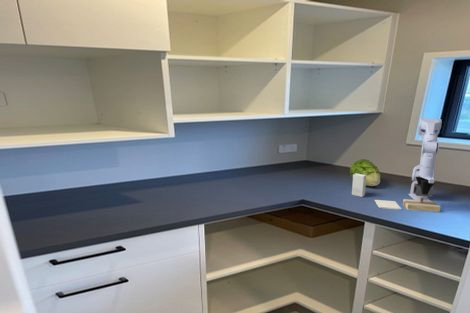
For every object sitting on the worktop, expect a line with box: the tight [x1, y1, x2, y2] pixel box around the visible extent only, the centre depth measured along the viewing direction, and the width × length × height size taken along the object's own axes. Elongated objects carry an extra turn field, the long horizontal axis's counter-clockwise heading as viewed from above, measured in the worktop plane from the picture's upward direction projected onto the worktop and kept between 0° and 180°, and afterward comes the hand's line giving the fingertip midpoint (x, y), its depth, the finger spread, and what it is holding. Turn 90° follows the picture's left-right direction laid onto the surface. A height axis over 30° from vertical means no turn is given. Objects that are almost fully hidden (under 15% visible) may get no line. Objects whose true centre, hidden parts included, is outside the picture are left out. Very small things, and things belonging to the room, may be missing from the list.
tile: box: [374, 199, 402, 210], centre depth 147 cm, size 10×10×1 cm
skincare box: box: [351, 173, 367, 198], centre depth 160 cm, size 6×4×12 cm
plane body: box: [402, 198, 441, 213], centre depth 143 cm, size 7×14×6 cm, turn 78°
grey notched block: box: [413, 184, 435, 198], centre depth 141 cm, size 4×7×5 cm, turn 78°
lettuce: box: [349, 158, 381, 187], centre depth 179 cm, size 16×21×15 cm
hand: (422, 192), depth 141 cm, fingers closed on grey notched block, 4 cm apart
